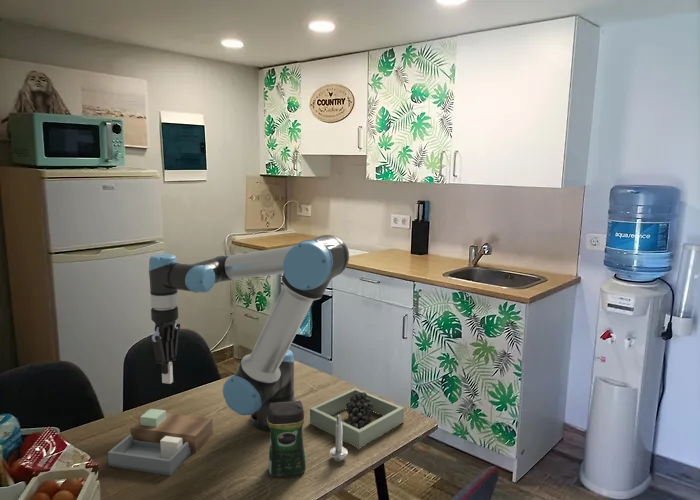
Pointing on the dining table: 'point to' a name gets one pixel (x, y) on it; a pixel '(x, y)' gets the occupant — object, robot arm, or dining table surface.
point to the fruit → (359, 410)
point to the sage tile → (153, 417)
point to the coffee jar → (286, 439)
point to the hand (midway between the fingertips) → (167, 382)
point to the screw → (338, 442)
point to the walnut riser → (176, 430)
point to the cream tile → (170, 446)
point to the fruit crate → (350, 434)
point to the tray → (146, 457)
